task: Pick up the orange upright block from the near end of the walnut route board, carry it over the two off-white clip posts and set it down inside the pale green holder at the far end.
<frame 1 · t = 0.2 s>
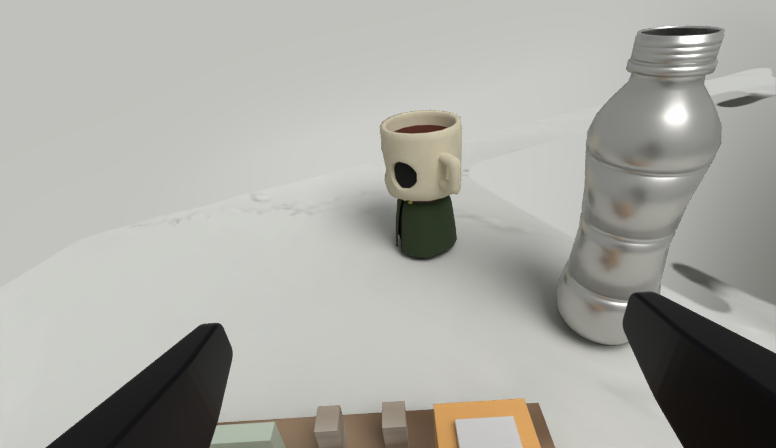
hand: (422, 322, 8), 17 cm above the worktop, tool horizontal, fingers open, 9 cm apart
plastic bottle: (597, 323, 29), on the worktop
character mug: (425, 245, 40), on the worktop
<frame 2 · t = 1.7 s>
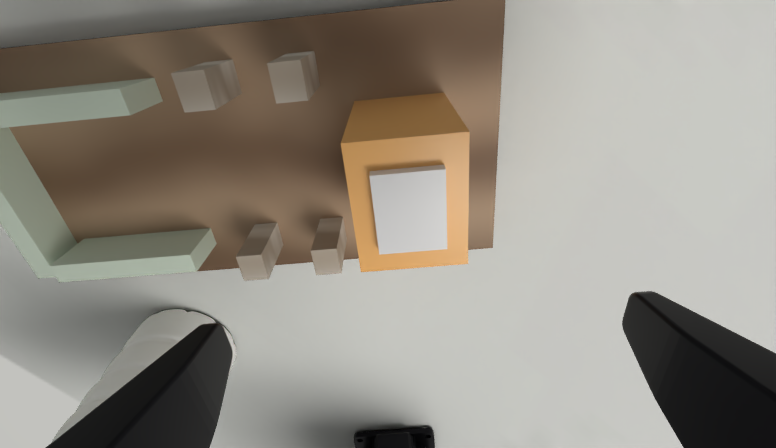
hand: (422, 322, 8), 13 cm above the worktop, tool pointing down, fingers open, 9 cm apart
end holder: (149, 173, 19), resting on route board
water bottle: (204, 335, 26), on the worktop
orange upright block: (403, 150, 18), point 1 cm above the worktop, touching route board
route board: (256, 156, 20), on the worktop
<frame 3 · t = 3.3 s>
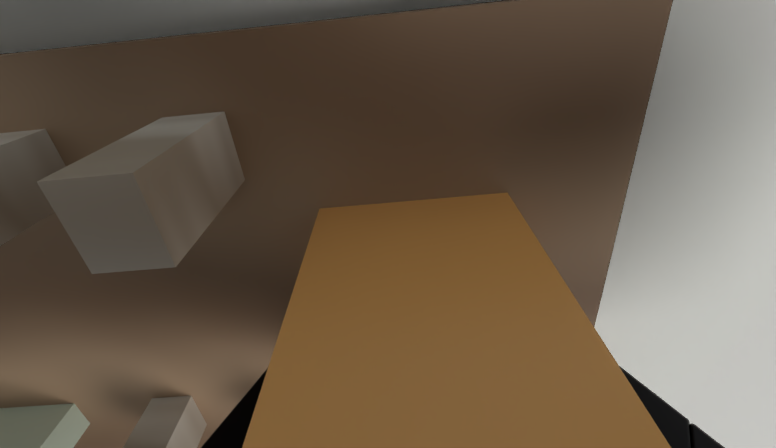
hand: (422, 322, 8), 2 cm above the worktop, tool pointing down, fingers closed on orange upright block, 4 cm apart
orange upright block: (418, 291, 9), point 1 cm above the worktop, touching gripper, route board
route board: (148, 283, 11), on the worktop
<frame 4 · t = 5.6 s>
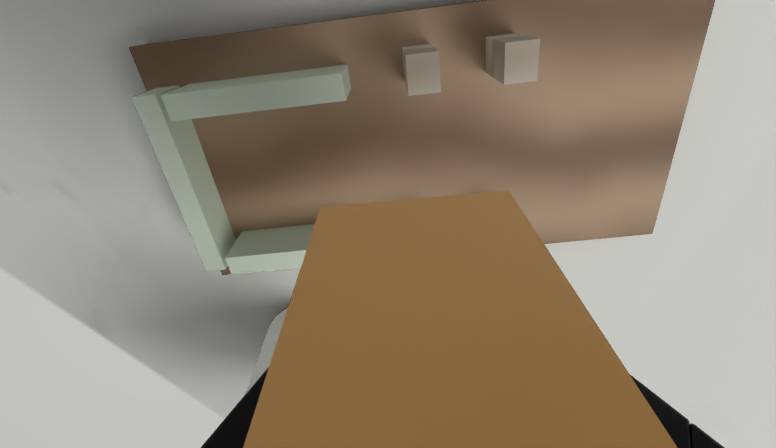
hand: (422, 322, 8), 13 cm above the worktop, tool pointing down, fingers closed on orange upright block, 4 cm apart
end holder: (321, 163, 19), resting on route board
water bottle: (331, 329, 26), on the worktop
orange upright block: (419, 290, 9), point 12 cm above the worktop, touching gripper
route board: (421, 144, 19), on the worktop
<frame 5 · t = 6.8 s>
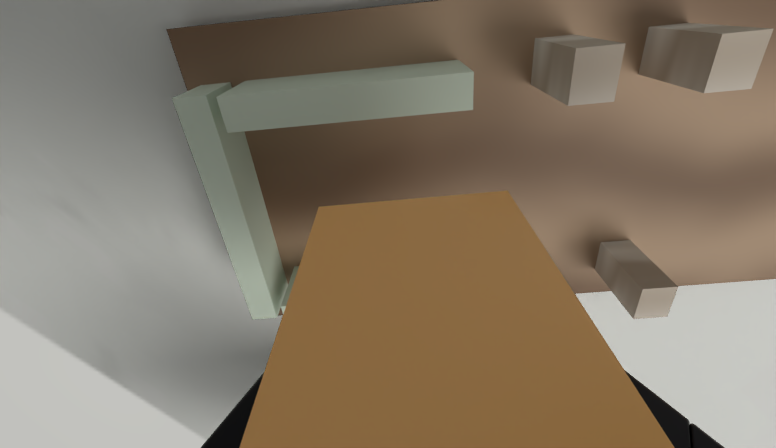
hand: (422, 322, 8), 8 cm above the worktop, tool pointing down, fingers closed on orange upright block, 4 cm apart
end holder: (405, 186, 15), resting on route board
orange upright block: (418, 290, 9), point 7 cm above the worktop, touching gripper
route board: (528, 163, 15), on the worktop
when the fingers open (4 cm above the worktop, at t = 7.8 s): orange upright block drops 2 cm, resting on route board.
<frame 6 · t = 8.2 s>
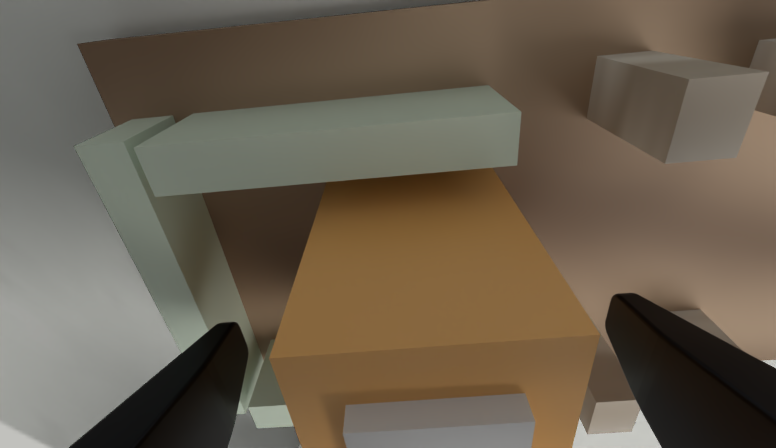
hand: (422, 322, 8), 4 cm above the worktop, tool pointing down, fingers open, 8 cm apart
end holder: (412, 246, 11), resting on route board
orange upright block: (413, 245, 11), point 1 cm above the worktop, touching route board
route board: (570, 212, 12), on the worktop
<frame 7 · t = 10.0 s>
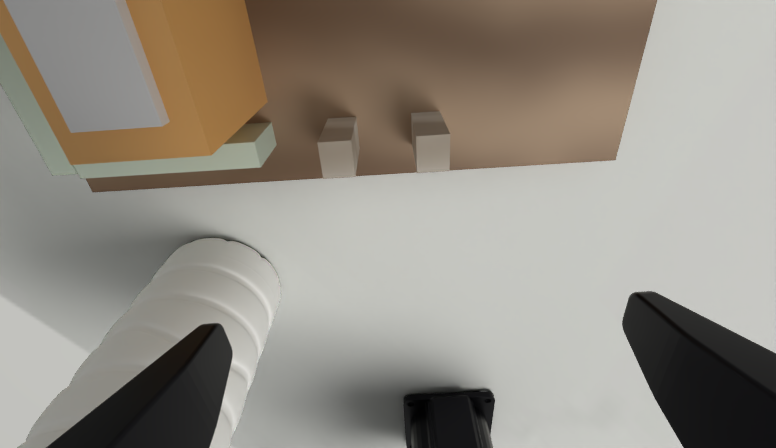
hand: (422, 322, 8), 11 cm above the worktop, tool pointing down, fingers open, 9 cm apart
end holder: (200, 39, 15), resting on route board
water bottle: (243, 274, 22), on the worktop
orange upright block: (200, 38, 14), point 1 cm above the worktop, touching route board
route board: (334, 27, 15), on the worktop
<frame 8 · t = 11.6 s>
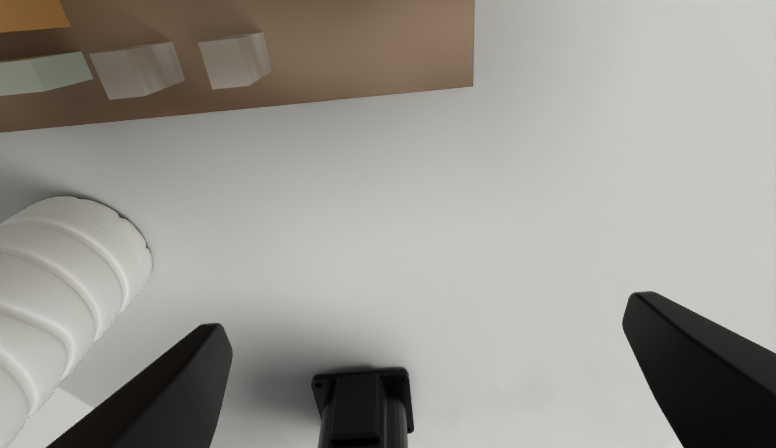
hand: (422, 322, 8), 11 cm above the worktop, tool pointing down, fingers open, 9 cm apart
water bottle: (110, 239, 21), on the worktop
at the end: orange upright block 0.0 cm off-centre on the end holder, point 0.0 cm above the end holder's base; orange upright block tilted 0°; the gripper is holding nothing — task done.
